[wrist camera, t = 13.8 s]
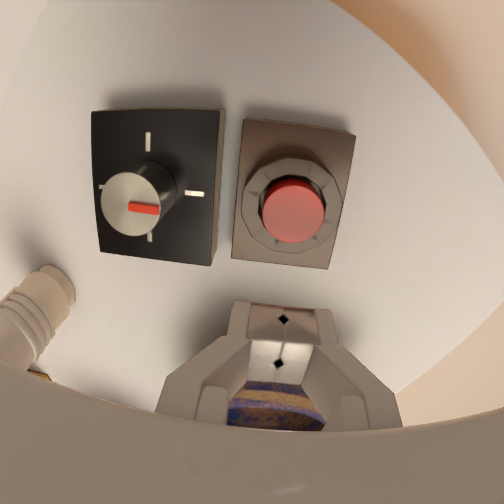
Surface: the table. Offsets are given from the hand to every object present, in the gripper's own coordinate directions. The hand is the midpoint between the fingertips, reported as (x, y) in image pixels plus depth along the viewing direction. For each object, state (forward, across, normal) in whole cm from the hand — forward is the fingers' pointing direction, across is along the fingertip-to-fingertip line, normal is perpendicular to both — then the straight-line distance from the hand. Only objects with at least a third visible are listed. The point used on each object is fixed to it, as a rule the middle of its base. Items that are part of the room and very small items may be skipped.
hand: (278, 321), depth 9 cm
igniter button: (+13, -1, +1) cm, 13 cm away
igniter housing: (+16, -1, +1) cm, 16 cm away
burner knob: (+13, +9, +1) cm, 16 cm away
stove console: (+16, +9, +1) cm, 19 cm away
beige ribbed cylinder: (+16, +24, +14) cm, 32 cm away
